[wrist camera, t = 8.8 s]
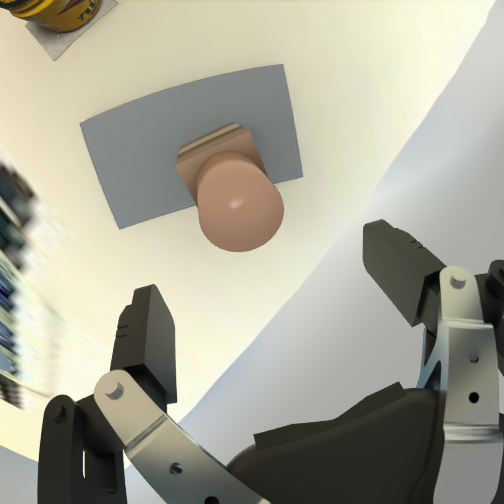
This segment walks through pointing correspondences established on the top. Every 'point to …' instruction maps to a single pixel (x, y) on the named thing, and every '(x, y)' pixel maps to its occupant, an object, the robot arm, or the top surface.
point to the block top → (227, 141)
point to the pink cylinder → (237, 202)
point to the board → (187, 138)
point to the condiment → (58, 19)
